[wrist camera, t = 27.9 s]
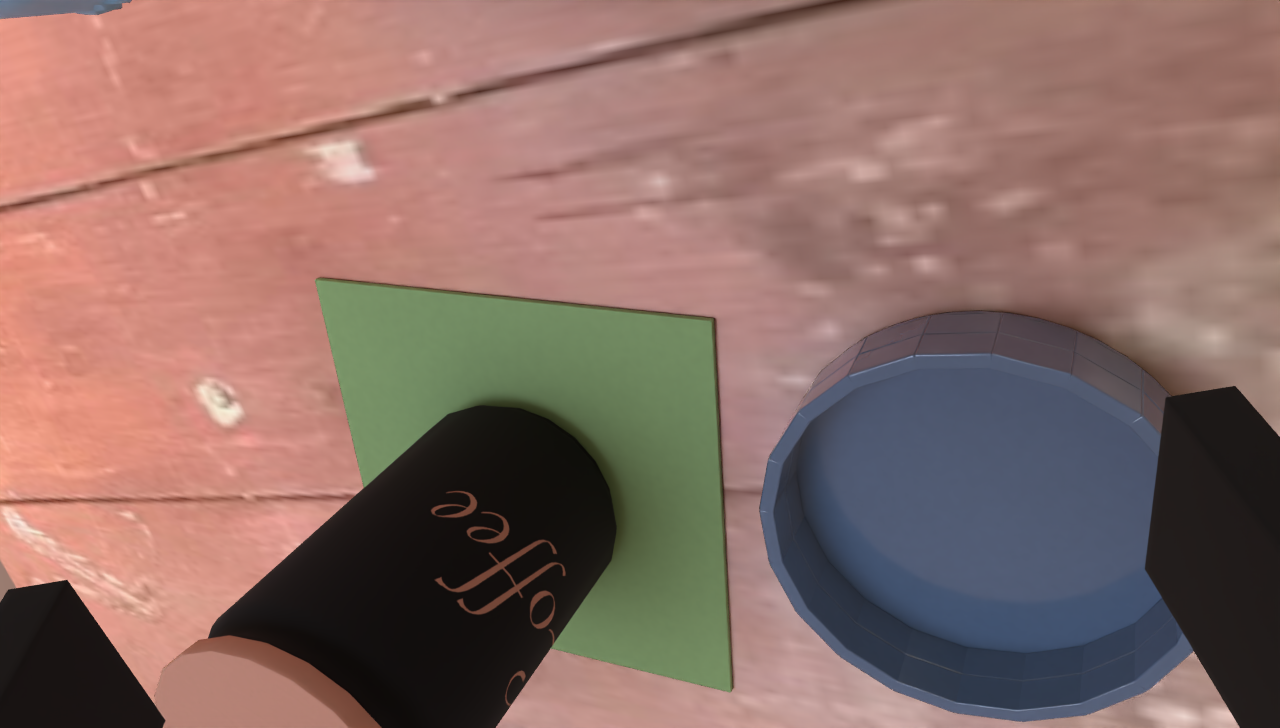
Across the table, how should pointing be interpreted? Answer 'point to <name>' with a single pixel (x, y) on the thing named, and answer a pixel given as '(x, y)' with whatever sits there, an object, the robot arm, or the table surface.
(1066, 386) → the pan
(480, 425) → the coffee jar
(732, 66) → the table surface
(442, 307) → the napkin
